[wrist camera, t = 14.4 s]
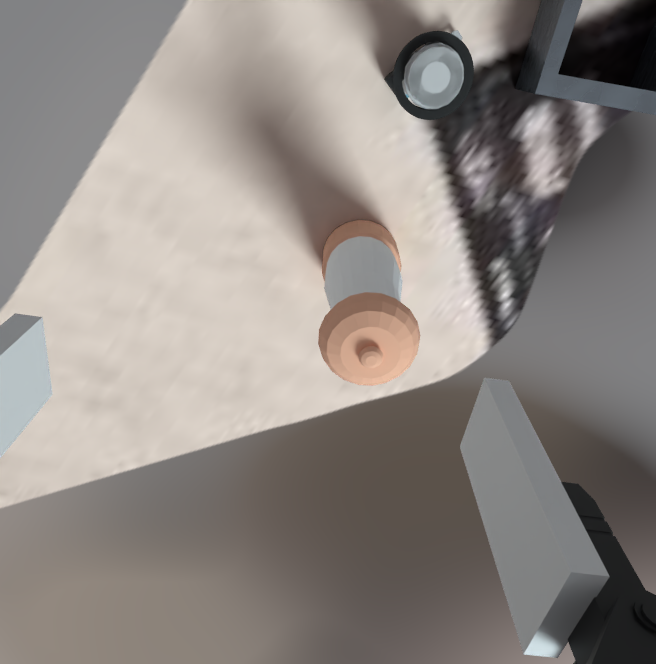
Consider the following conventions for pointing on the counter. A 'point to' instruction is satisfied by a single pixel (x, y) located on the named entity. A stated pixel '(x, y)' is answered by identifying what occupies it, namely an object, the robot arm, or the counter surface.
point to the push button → (432, 75)
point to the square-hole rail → (542, 78)
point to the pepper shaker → (365, 306)
